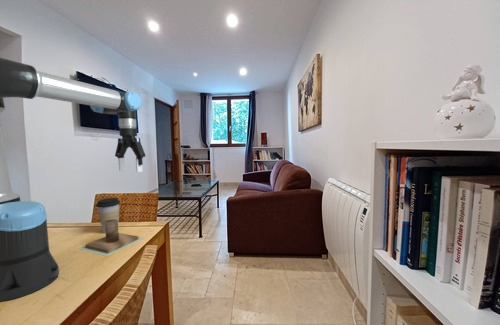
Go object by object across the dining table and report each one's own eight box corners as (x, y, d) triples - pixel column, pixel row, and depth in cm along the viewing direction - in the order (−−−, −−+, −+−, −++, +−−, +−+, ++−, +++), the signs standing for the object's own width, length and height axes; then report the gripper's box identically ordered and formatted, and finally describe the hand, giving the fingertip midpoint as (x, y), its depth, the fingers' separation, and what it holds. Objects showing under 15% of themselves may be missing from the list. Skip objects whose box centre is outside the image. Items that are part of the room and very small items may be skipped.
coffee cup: (114, 235, 99) (111, 202, 98) (93, 236, 99) (90, 202, 98) (126, 227, 108) (124, 197, 107) (107, 228, 108) (104, 197, 107)
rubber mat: (107, 257, 80) (107, 256, 80) (78, 250, 86) (78, 249, 86) (144, 239, 94) (144, 238, 94) (117, 234, 100) (117, 233, 100)
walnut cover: (108, 253, 81) (106, 229, 81) (85, 247, 86) (83, 224, 86) (138, 239, 93) (136, 217, 93) (116, 235, 98) (115, 214, 98)
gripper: (151, 127, 107) (154, 171, 109) (120, 129, 119) (122, 169, 121) (137, 126, 101) (140, 173, 102) (105, 129, 112) (108, 171, 114)
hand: (130, 171), depth 111 cm, fingers open, 13 cm apart
